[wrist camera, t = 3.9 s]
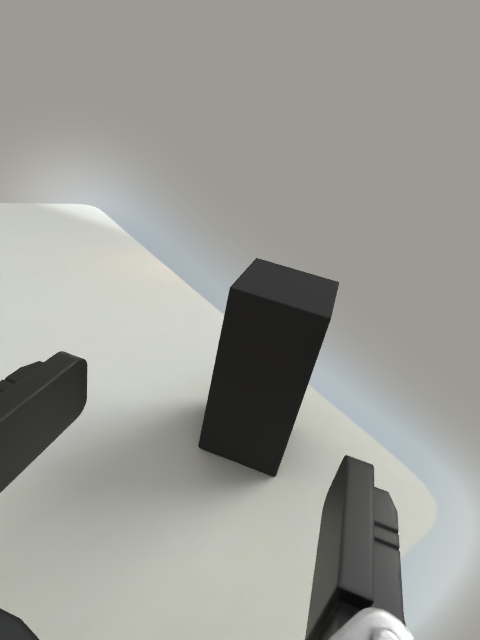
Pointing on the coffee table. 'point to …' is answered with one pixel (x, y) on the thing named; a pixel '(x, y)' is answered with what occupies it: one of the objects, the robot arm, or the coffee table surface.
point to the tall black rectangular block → (265, 362)
